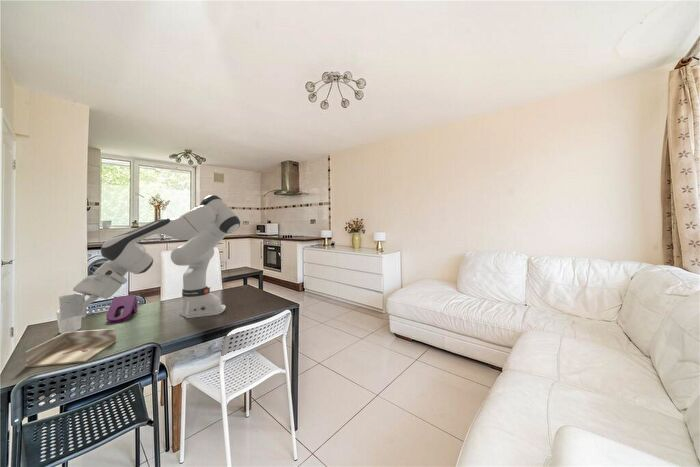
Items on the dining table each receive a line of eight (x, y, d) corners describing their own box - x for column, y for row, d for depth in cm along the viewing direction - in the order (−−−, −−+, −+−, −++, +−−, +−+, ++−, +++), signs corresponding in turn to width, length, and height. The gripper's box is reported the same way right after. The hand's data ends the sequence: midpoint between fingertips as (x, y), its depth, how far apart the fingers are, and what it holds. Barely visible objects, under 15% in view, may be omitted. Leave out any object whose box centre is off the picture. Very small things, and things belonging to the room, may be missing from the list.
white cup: (53, 335, 112) (52, 314, 111) (63, 328, 119) (62, 308, 118) (77, 332, 115) (76, 311, 115) (85, 325, 122) (84, 305, 122)
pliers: (96, 306, 145) (130, 301, 153) (96, 308, 145) (130, 304, 153) (90, 311, 137) (126, 306, 145) (90, 314, 137) (126, 309, 145)
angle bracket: (78, 314, 98) (77, 292, 98) (85, 316, 97) (84, 294, 96) (60, 319, 94) (59, 296, 93) (67, 321, 92) (66, 298, 91)
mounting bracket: (130, 329, 132) (138, 305, 145) (128, 318, 128) (136, 294, 142) (106, 333, 127) (116, 308, 141) (103, 321, 123) (113, 296, 137)
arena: (116, 341, 108) (115, 328, 107) (85, 362, 92) (84, 347, 92) (66, 344, 104) (65, 331, 104) (25, 367, 88) (24, 352, 88)
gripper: (87, 269, 106) (55, 298, 98) (116, 272, 99) (84, 304, 91) (101, 277, 111) (72, 305, 102) (130, 281, 104) (101, 312, 95)
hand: (78, 305), depth 96 cm, fingers closed on angle bracket, 5 cm apart
